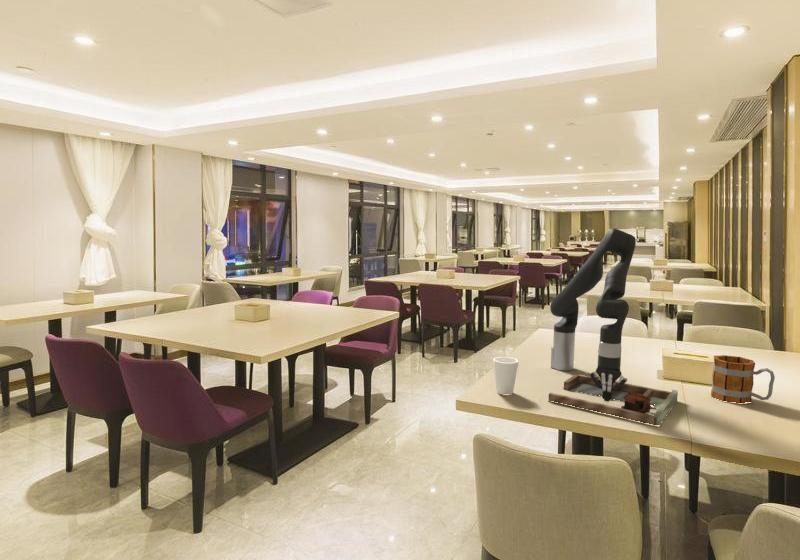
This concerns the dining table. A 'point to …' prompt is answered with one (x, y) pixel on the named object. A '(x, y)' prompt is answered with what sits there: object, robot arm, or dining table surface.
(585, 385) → the wooden divided tray
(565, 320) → the robot arm
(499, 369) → the foam cup
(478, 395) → the dining table surface
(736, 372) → the mug
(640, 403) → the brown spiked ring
